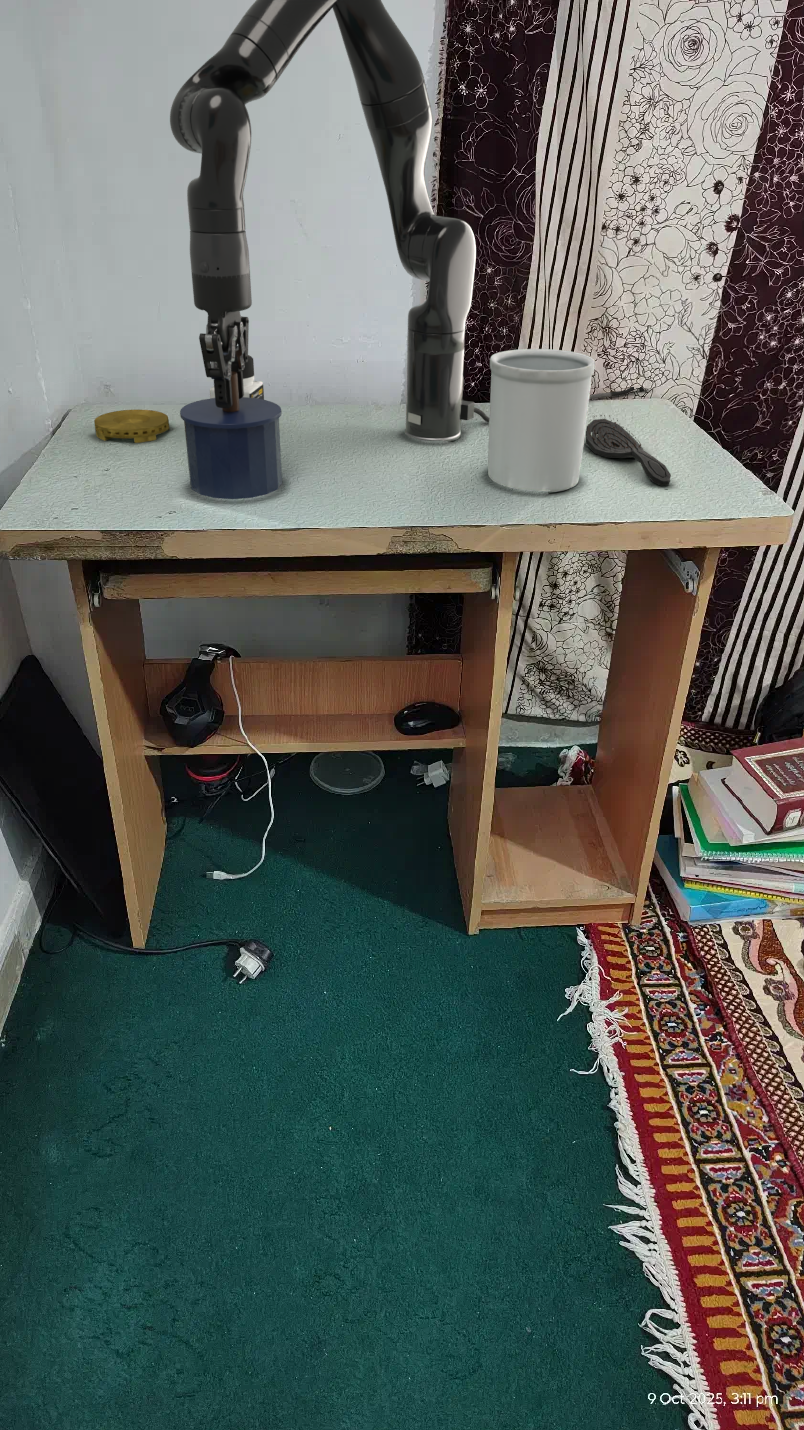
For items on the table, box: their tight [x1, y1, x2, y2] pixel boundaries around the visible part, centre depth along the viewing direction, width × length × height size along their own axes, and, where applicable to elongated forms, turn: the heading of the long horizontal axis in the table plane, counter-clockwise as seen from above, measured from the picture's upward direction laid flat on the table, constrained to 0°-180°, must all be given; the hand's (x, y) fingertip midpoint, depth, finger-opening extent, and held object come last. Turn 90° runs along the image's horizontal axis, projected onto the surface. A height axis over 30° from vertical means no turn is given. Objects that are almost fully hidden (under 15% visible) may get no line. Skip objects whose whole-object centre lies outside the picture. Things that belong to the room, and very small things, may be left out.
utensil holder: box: [487, 348, 596, 494], centre depth 144 cm, size 15×15×18 cm
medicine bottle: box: [209, 354, 265, 400], centre depth 165 cm, size 7×7×12 cm
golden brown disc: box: [93, 409, 170, 444], centre depth 165 cm, size 12×12×2 cm
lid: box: [179, 371, 283, 429], centre depth 137 cm, size 14×14×6 cm
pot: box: [183, 417, 283, 500], centre depth 141 cm, size 13×13×10 cm
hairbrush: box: [585, 414, 672, 488], centre depth 156 cm, size 8×4×25 cm
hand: (230, 401), depth 137 cm, fingers open, 4 cm apart
